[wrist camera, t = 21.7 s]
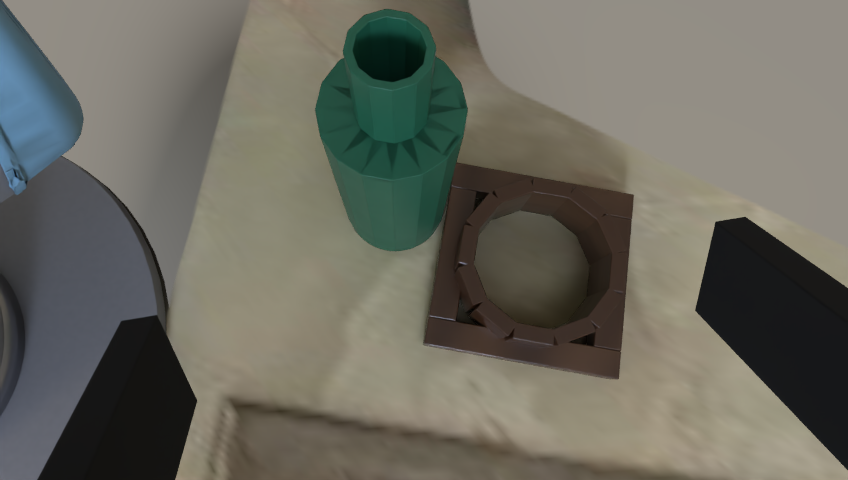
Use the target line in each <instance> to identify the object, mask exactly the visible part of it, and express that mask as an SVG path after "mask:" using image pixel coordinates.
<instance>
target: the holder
mask: <svg viewBox="0 0 848 480" xmlns="http://www.w3.org/2000/svg"><path fill="white" fill-rule="evenodd" d="M476 198H478V199H484V200H483V201H482V202H481V203H480V204H479V206H478V207H477V208H476V209H475V210H474V207H475V200H476ZM633 198H634V195H631V194H626V193H620V192H615V191H609V190H604V189H598V188H593V187H587V186H582V185H576V184H571V183H565V182H560V181H554V180H549V179H543V178H538V177H532V176H527V175H521V174H516V173H510V172H505V171H499V170H494V169H488V168H483V167H477V166H472V165H466V164H461V163H456V165H455V169H454V173H453V177H452V181H451V187H450V193H449V199H448V204H447V210H446V216H445V222H444V227H443V233H442V239H441V245H440V250H439V256H438V262H437V268H436V273H435V279H434V285H433V291H432V296H431V302H430V308H429V314H428V320H427V325H426V331H425V337H424V342H423V345H425V346H430V347H436V348H441V349H447V350H452V351H458V352H463V353H469V354H474V355H480V356H485V357H491V358H496V359H502V360H507V361H513V362H518V363H524V364H529V365H535V366H540V367H546V368H551V369H557V370H562V371H568V372H573V373H579V374H584V375H590V376H595V377H600V378H606V379H619V369H620V356H621V352H620V351H621V345H622V333H623V320H624V308H625V296H626V283H627V271H628V258H629V246H630V234H631V221H632V220H631V219H632V211H633ZM519 210H522V211H527V212H533V213H539V214H544V215H550V216H553V217H554V218H555V219H556V220H558V221H559V222H560V223H562V224H563V225H564V226H565V227H567V228H568V229H569V230H570V231H572V232H573V233H574V234H576V235H577V237H578V240H579V242H580V244H581V246H582V249H583V251H584V253H585V255H586V258H587V260H588V262H589V264H590V270H589V280H588V290H587V297H586V299H585V300H584V301H583V303H582V304H581V305H580V307H579V308H578V309H577V311H576V312H575V313H574V315H573V316H572V317H571V318H570V320H569V321H568V322H567V323H564V324H562V325H559V326H556V327H554V328H551V329H549V328H544V327H538V326H533V325H527V324H522V323H517V322H515V321H514V320H513V319H512V318H510V317H509V316H508V315H507V314H506V313H504V312H503V311H502V310H501V309H500V308H498V307H497V306H496V305H495V304H494V303H492V302H491V301H490V300H489V299H488V298H487V296H486V294H485V291H484V289H483V286H482V283H481V281H480V278H479V276H478V273H477V271H476V268H475V266H474V259H475V253H476V247H477V240H478V235H479V234H480V233H481V232H482V230H483V229H484V228H485V227H486V226H487V224H488V223H489V222H490V221H491V220H493V219H496V218H499V217H502V216H505V215H508V214H511V213H513V212H516V211H519ZM459 300H461V303H462V306H463V308H464V311H465V312H468V311H471V310H472V311H471V312H470V314H469V315H468V317H469V318H471V319H472V320H473V321H474V322H475V323H476V324H478V325H474V324H469V323H463V322H458V321H456V319H457V313H458V307H459ZM585 335H587V345H584V344H579V343H573V342H570V341H572V340H575V339H578V338H580V337H583V336H585Z"/></svg>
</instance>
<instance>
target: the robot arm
mask: <svg viewBox="0 0 848 480" xmlns="http://www.w3.org/2000/svg"><path fill="white" fill-rule="evenodd" d="M82 125H83V113H82V109H81V106H80V103H79V101H78V100H77V98H76V96H75V95H74V94H73V92H72V90H71V89H70V88H69V86H68V85H67V84H66V82H65V81H64V79H63V78H62V77H61V75H60V74H59V73H58V71H57V70H56V69H55V67H54V66H53V65H52V63H51V62H50V61H49V60H48V58H47V57H46V56H45V55H44V53H43V52H42V50H41V49H40V48H39V47H38V45H37V44H36V43H35V42H34V40H33V39H32V38H31V36H30V35H29V34H28V33H27V31H26V30H25V29H24V27H23V26H22V25H21V24H20V22H19V21H18V20H17V19H16V17H15V16H14V15H13V14H12V12H11V11H10V10H9V8H8V7H7V6H6V5H5V3H4V2H3V1H2V0H0V203H2V202H3V201H5V200H6V199H8V198H9V197H11V196H12V195H14V194H16V195H18V194H20V193H21V192H23V190H25V189H26V187H27V182H28V181H29V180H30V179H32V178H33V177H34V176H36V175H37V174H38V173H39V172H41V171H42V170H43V169H45V168H46V167H47V166H48V165H50V164H51V163H52V162H54V161H55V160H56V159H58V158H59V157H60V156H61V155H63V154H64V153H65V152H67V151H68V150H69V149H71V148H72V147H73V146H74V145H75V142H76V141H77V140H78V138H79V136H80V134H81V130H82ZM695 311H696V312H697V313H698V314H699V315H700V316H701V317H702V318H703V319H704V320H705V321H706V322H707V323H708V324H709V326H710V327H711V328H712V329H713V330H714V331H715V332H716V333H717V334H718V335H719V336H720V337H721V338H722V339H723V340H724V341H725V342H726V343H727V344H728V345H729V346H730V347H731V349H732V350H733V351H734V352H735V353H736V354H737V355H738V356H739V357H740V358H741V359H742V360H743V361H744V362H745V363H746V364H747V365H748V366H749V367H750V368H751V369H752V370H753V372H754V373H755V374H756V375H757V376H758V377H759V378H760V379H761V380H762V381H763V382H764V383H765V384H766V385H767V386H768V387H769V388H770V389H771V390H772V391H773V392H774V394H775V395H776V396H777V397H778V398H779V399H780V400H781V401H782V402H783V403H784V404H785V405H786V406H787V407H788V408H789V409H790V410H791V411H792V412H793V413H794V414H795V415H796V417H797V418H798V419H799V420H800V421H801V422H802V423H803V424H804V425H805V426H806V427H807V428H808V429H809V430H810V431H811V432H812V433H813V434H814V435H815V436H816V437H817V438H818V440H819V441H820V442H821V443H822V444H823V445H824V446H825V447H826V448H827V449H828V450H829V451H830V452H831V453H832V454H833V455H834V456H835V457H836V458H837V459H838V460H839V462H840V463H841V464H842V465H843V466H844V467H845V468H846V469H847V470H848V288H847V287H845V286H844V285H843V284H841V283H840V282H838V281H837V280H835V279H834V278H833V277H831V276H830V275H828V274H827V273H825V272H824V271H822V270H821V269H820V268H818V267H817V266H815V265H814V264H812V263H811V262H810V261H808V260H807V259H805V258H804V257H802V256H801V255H799V254H798V253H797V252H795V251H794V250H792V249H791V248H789V247H788V246H786V245H785V244H784V243H782V242H781V241H779V240H778V239H776V238H775V237H774V236H772V235H771V234H769V233H768V232H766V231H765V230H763V229H762V228H761V227H759V226H758V225H756V224H755V223H753V222H752V221H751V220H749V219H748V218H746V217H742V218H736V219H730V220H724V221H718V222H716V223H715V227H714V231H713V236H712V240H711V244H710V249H709V253H708V257H707V262H706V266H705V270H704V275H703V279H702V283H701V288H700V292H699V296H698V301H697V305H696V309H695ZM24 348H25V331H24V322H23V317H22V312H21V309H20V306H19V303H18V300H17V298H16V295H15V293H14V291H13V289H12V288H11V286H10V284H9V283H8V281H7V280H6V279H5V277H4V276H3V275H2V274H1V273H0V416H1V415H2V413H3V411H4V410H5V408H6V406H7V404H8V402H9V400H10V398H11V397H12V394H13V392H14V389H15V387H16V384H17V381H18V378H19V375H20V372H21V367H22V362H23V357H24ZM196 403H197V399H196V397H195V395H194V393H193V391H192V389H191V387H190V384H189V382H188V380H187V378H186V376H185V374H184V372H183V369H182V367H181V365H180V363H179V361H178V359H177V357H176V354H175V352H174V350H173V348H172V346H171V344H170V341H169V339H168V337H167V335H166V333H165V331H164V329H163V326H162V324H161V322H160V320H159V318H158V316H157V315H153V316H147V317H141V318H135V319H129V320H123V321H121V322H120V324H119V326H118V328H117V330H116V332H115V334H114V335H113V337H112V339H111V341H110V343H109V345H108V347H107V349H106V351H105V352H104V354H103V356H102V358H101V360H100V362H99V364H98V366H97V368H96V369H95V371H94V373H93V375H92V377H91V379H90V381H89V383H88V385H87V386H86V388H85V390H84V392H83V394H82V396H81V398H80V400H79V402H78V404H77V405H76V407H75V409H74V411H73V413H72V415H71V417H70V419H69V421H68V422H67V424H66V426H65V428H64V430H63V432H62V434H61V436H60V438H59V439H58V441H57V443H56V445H55V447H54V449H53V451H52V453H51V455H50V456H49V458H48V460H47V462H46V464H45V466H44V468H43V470H42V472H41V473H40V475H39V477H38V479H37V480H175V478H176V475H177V471H178V468H179V464H180V460H181V457H182V453H183V450H184V446H185V443H186V439H187V435H188V432H189V428H190V425H191V421H192V417H193V414H194V410H195V407H196Z"/></svg>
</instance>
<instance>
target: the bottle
mask: <svg viewBox="0 0 848 480" xmlns="http://www.w3.org/2000/svg"><path fill="white" fill-rule="evenodd" d="M435 54H436V45H435V43H434V40H433V38H432V35H431V33H430V31H429V28H428V27H427V26H426V25H425V24H424V23H422V22H421V21H420V20H418V19H417V18H416V17H414V16H413V15H412V14H409V13H407V12H402V11H396V10H391V9H384V10H380V11H377V12H373V13H370V14H366V15H364V16H363V17H362V18H361V19H360V20H358V21H357V22H356V23H355V24H354V25H353V26H352V27H351V28H350V29H349V30H348V32H347V36H346V40H345V44H344V48H343V55H344V58H343V59H341V60H340V61H339V62H338V63H337V64H336V65H335V67H334V68H333V69H332V70H331V72H330V73H329V74H328V76H327V77H326V78H325V79H324V81H323V82H322V84H321V88H320V92H319V96H318V100H317V104H316V108H315V111H316V117H317V122H318V127H319V133H320V137H321V140H322V143H323V145H324V148H325V151H326V154H327V157H328V160H329V163H330V166H331V168H332V171H333V174H334V177H335V180H336V183H337V186H338V189H339V192H340V194H341V197H342V200H343V203H344V206H345V209H346V212H347V215H348V217H349V220H350V222H351V224H352V225H353V227H354V229H355V231H356V232H357V233H358V234H359V236H360V237H362V238H363V239H364V240H365V241H366V242H368V243H369V244H371V245H373V246H375V247H377V248H380V249H383V250H388V251H402V250H407V249H411V248H414V247H416V246H418V245H420V244H422V243H423V242H424V241H426V240H427V239H428V238H429V237H430V236H431V235H432V234H433V233H434V231H435V230H436V228H437V227H438V225H439V223H440V221H441V219H442V215H443V211H444V207H445V204H446V200H447V196H448V192H449V188H450V184H451V181H452V177H453V173H454V169H455V165H456V162H457V158H458V154H459V150H460V146H461V142H462V139H463V135H464V129H465V123H466V117H467V111H468V110H467V109H468V108H467V104H466V100H465V97H464V93H463V89H462V85H461V83H460V81H459V80H458V79H457V78H456V76H455V75H454V74H453V72H452V71H451V70H450V69H449V67H448V66H447V65H446V63H445V62H444V61H442V60H441V59H439V58H437V57H435Z"/></svg>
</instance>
